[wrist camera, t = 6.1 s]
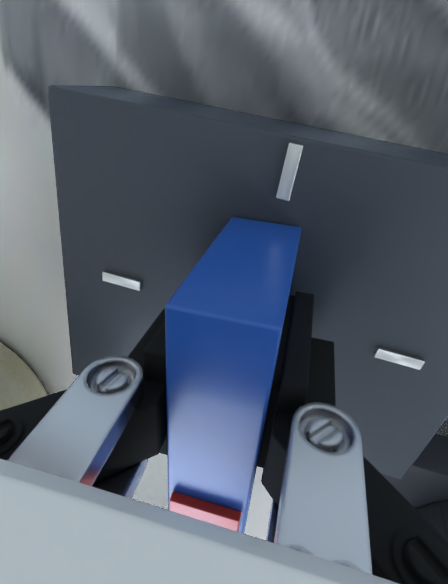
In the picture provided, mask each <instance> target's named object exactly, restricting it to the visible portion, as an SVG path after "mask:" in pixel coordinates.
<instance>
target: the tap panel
mask: <svg viewBox="0 0 448 584" xmlns="http://www.w3.org/2000/svg"><path fill="white" fill-rule="evenodd" d="M48 96H49V107H50V119H51V130H52V141H53V153H54V164H55V175H56V187H57V198H58V209H59V221H60V232H61V243H62V255H63V266H64V277H65V289H66V300H67V311H68V323H69V334H70V345H71V357H72V368H73V373H74V374H76V375H80V374H81V373H82V371H83V370H84V369H85V368H86V367H87V366H89V365H90V364H91V363H93V362H95V361H96V360H98V359H101V358H104V357H108V356H126V357H128V355H129V354H130V353H131V351H132V350H133V349H134V347H135V346H136V345H137V343H138V342H139V341H140V339H141V338H142V337H143V335H144V334H145V333H146V331H147V330H148V329H149V327H150V326H151V325H152V323H153V322H154V321H155V319H156V318H157V317H158V315H159V314H160V313H161V311H162V310H163V309H164V308H165V305H166V304H167V302H168V301H169V300H170V298H171V297H172V296H173V294H174V293H175V292H176V290H177V289H178V288H179V286H180V285H181V284H182V282H183V281H184V280H185V278H186V277H187V276H188V274H189V273H190V272H191V271H192V269H193V268H194V267H195V265H196V264H197V263H198V261H199V260H200V259H201V257H202V256H203V255H204V253H205V252H206V251H207V249H208V248H209V247H210V245H211V244H212V243H213V241H214V240H215V239H216V238H217V236H218V235H219V234H220V232H221V231H222V230H223V228H224V227H225V226H226V224H227V223H228V222H229V220H230V219H231V218H232V217H236V218H243V219H250V220H256V221H263V222H270V223H276V224H283V225H290V226H296V227H300V228H301V235H300V240H299V245H298V250H297V256H296V261H295V266H294V272H293V277H292V282H291V288H290V293H289V295H294V296H295V294H296V291H299V292H304V293H310V294H314V306H313V321H312V336H311V337H312V338H317V339H322V340H327V341H332V342H334V358H335V400H336V407H338V408H339V409H341V410H342V411H344V412H346V413H347V414H348V415H349V416H350V417H351V418H352V419H353V420H354V421H355V423H356V424H357V426H358V428H359V430H360V434H361V438H362V450H363V456H364V457H365V458H366V459H367V460H368V461H369V462H370V463H371V464H372V465H373V466H374V467H375V468H376V469H377V470H378V471H379V472H380V473H382V474H385V475H388V476H391V477H394V478H397V479H402V478H403V477H404V475H405V474H406V473H407V471H408V470H409V469H410V467H411V466H412V465H413V463H414V462H415V461H416V459H417V458H418V457H419V455H420V454H421V452H422V451H423V450H424V448H425V447H426V446H427V444H428V443H429V442H430V440H431V439H432V438H433V436H434V435H435V434H436V432H437V431H438V429H439V428H440V427H441V425H442V424H443V423H444V421H445V420H446V419H447V417H448V154H444V153H439V152H434V151H429V150H424V149H419V148H414V147H409V146H405V145H400V144H395V143H390V142H385V141H380V140H375V139H370V138H365V137H360V136H355V135H350V134H345V133H340V132H335V131H330V130H325V129H321V128H316V127H311V126H306V125H301V124H296V123H291V122H286V121H281V120H276V119H271V118H266V117H261V116H256V115H251V114H246V113H241V112H237V111H232V110H227V109H222V108H217V107H212V106H207V105H202V104H197V103H192V102H187V101H182V100H177V99H172V98H167V97H162V96H157V95H153V94H148V93H143V92H138V91H133V90H128V89H123V88H118V87H113V86H59V85H50V86H48Z"/></svg>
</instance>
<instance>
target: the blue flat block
mask: <svg viewBox="0 0 448 584" xmlns="http://www.w3.org/2000/svg"><path fill="white" fill-rule="evenodd" d="M300 235H301V228H300V227H296V226H290V225H283V224H276V223H270V222H263V221H256V220H250V219H243V218H236V217H232V218H231V219H230V220H229V222H228V223H227V224H226V226H225V227H224V228H223V230H222V231H221V232H220V234H219V235H218V236H217V238H216V239H215V240H214V241H213V243H212V244H211V245H210V247H209V248H208V249H207V251H206V252H205V253H204V255H203V256H202V257H201V259H200V260H199V261H198V263H197V264H196V265H195V267H194V268H193V269H192V271H191V272H190V273H189V274H188V276H187V277H186V278H185V280H184V281H183V282H182V284H181V285H180V286H179V288H178V289H177V290H176V292H175V293H174V294H173V296H172V297H171V298H170V300H169V301H168V302H167V304H166V305H165V341H166V396H167V450H168V504H169V511H173V512H176V513H179V514H182V515H185V516H189V517H192V518H195V519H198V520H202V521H205V522H208V523H211V524H214V525H218V526H221V527H224V528H227V529H230V530H234V531H237V532H240V533H243V534H244V531H245V525H246V520H247V515H248V510H249V504H250V499H251V494H252V488H253V483H254V478H255V473H256V467H257V462H258V456H259V451H260V446H261V440H262V435H263V430H264V424H265V419H266V414H267V409H268V403H269V398H270V393H271V387H272V382H273V377H274V371H275V366H276V361H277V356H278V350H279V345H280V340H281V335H282V329H283V324H284V319H285V314H286V309H287V303H288V298H289V293H290V288H291V282H292V277H293V272H294V266H295V261H296V256H297V250H298V245H299V240H300Z"/></svg>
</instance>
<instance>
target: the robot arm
mask: <svg viewBox="0 0 448 584" xmlns="http://www.w3.org/2000/svg"><path fill="white" fill-rule="evenodd" d="M313 306H314V294H310V293H304V292H299V291H296V294H295V296H294V295H289V298H288V303H287V309H286V314H285V319H284V324H283V329H282V335H281V340H280V345H279V350H278V356H277V361H276V366H275V371H274V377H273V382H272V387H271V393H270V398H269V403H268V409H267V414H266V419H265V424H264V430H263V435H262V440H261V446H260V451H259V456H258V462H257V466H258V467H262V468H263V474H262V480H261V481H262V484H263V486H264V487H265V488H266V490H267V491H268V493H269V494H270V496H271V497H272V499H273V500H272V505H271V512H270V518H269V525H268V532H267V538H266V541H265V540H262V539H259V538H256V537H253V536H249V535H246V534H243V533H240V532H237V531H234V530H230V529H227V528H224V527H221V526H218V525H214V524H211V523H208V522H205V521H202V520H198V519H195V518H192V517H189V516H185V515H182V514H179V513H176V512H173V511H169V510H166V509H163V508H160V507H157V506H153V505H150V504H147V503H144V502H140V501H137V500H134V499H131V498H132V496H133V494H134V492H135V490H136V487H137V485H138V483H139V481H140V479H141V477H142V475H143V472H144V470H145V468H146V465H147V462H148V458H150V457H153V456H155V455H157V454H158V453H162V454H166V455H168V450H167V396H166V341H165V308H164V309H163V310H162V311H161V313H160V314H159V315H158V317H157V318H156V319H155V321H154V322H153V323H152V325H151V326H150V327H149V329H148V330H147V331H146V333H145V334H144V335H143V337H142V338H141V339H140V341H139V342H138V343H137V345H136V346H135V347H134V349H133V350H132V351H131V353H130V354H129V355H128V357H126V356H108V357H104V358H101V359H98V360H96V361H95V362H93V363H91V364H90V365H89V366H87V367H86V368H85V369H84V370H83V371H82V373H81V374H80V375H79V376H78V377H77V378H76V380H75V381H74V382H73V383H72V384H71V386H70V387H69V388H68V389H67V390H63V391H60V392H57V393H54V394H51V395H48V396H45V397H41V398H38V399H35V400H32V401H29V402H26V403H23V404H19V405H16V406H13V407H10V408H7V409H4V410H0V584H448V541H447V540H446V539H445V538H444V537H443V536H442V535H441V534H440V533H439V532H438V531H437V530H436V529H435V528H434V527H433V526H432V525H431V524H430V523H429V522H428V521H427V520H426V519H425V518H424V517H423V516H422V515H421V514H420V513H419V512H418V511H417V510H416V509H415V508H414V507H413V506H412V505H411V504H410V503H409V502H408V501H407V500H406V499H405V498H404V497H403V496H402V495H401V494H400V493H399V492H398V491H397V490H396V488H395V487H394V486H393V485H392V484H391V483H390V482H389V481H388V480H387V479H386V478H385V477H384V476H383V475H382V474H381V473H380V472H379V471H378V470H377V469H376V468H375V467H374V466H373V465H372V464H371V463H370V462H369V461H368V460H367V459H366V458H365V457H364V456H363V450H362V438H361V434H360V430H359V428H358V426H357V424H356V423H355V421H354V420H353V419H352V418H351V417H350V416H349V415H348V414H347V413H346V412H344V411H342V410H341V409H339V408H338V407H336V400H335V358H334V342H332V341H327V340H322V339H317V338H312V337H311V336H312V321H313Z"/></svg>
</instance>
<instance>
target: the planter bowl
mask: <svg viewBox="0 0 448 584" xmlns="http://www.w3.org/2000/svg"><path fill="white" fill-rule="evenodd" d="M45 396H47V394H46V391H45V389H44V387H43V385H42V384H41V382H40V381H39V379H38V378H37V376H36V375H35V374H34V372H33V371H32V370H31V369H30V368H29V366H28V365H27V364H26V363H25V362H24V361H23V360H22V359H21V358H20V357H19V356H18V355H17V354H16V353H15V352H13V351H12V350H10V349H9V348H8V347H6V346H5V345H4V344H2V343H0V410H4V409H7V408H10V407H13V406H16V405H19V404H23V403H26V402H29V401H32V400H35V399H38V398H41V397H45Z"/></svg>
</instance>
